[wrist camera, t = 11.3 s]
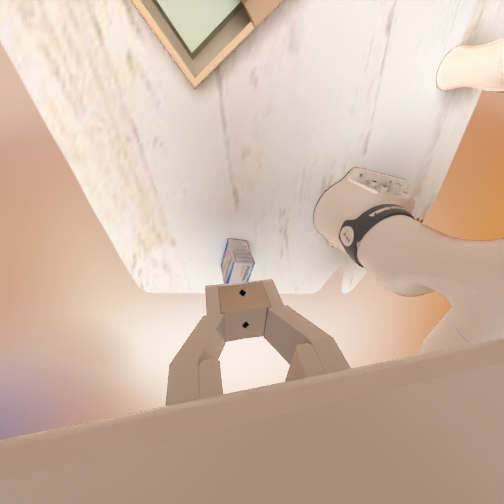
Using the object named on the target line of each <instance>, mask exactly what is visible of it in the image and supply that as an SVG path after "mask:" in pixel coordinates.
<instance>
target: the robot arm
mask: <svg viewBox="0 0 504 504" xmlns="http://www.w3.org/2000/svg"><path fill="white" fill-rule="evenodd" d="M360 174H361V175H360ZM359 175H360V176H359ZM413 208H414V199H413V197H412V196H410V195H408V182H407V181H405V180H403V179H400V178H396V177H392V176H388V175H384V174H381V173H377V172H373V171H369V170H365V169H362V168H358V167H356V168H353V169H352V170H351V171H350V172H349V173H348V174H347V175H346V176H345V177H344V179H342V180H341V181H340V182H338V183H336V184H335V185H333V186H332V187H331V188H329V189H328V190H327V191H326V192H325V193H324V194H323V196H322V197H321V198H320V200H319V202H318V204H317V206H316V208H315V212H314V225H315V228H316V229H317V231H318V232H319V233H320V234H321V235H323V236H324V237H325V238H326V240H327V242H328V244H329V245H330V246H332V247H337V248H338V249H339V250H341V251H342V252H343V253H344V254H346V255H347V256H348V257H351V258H352V260H353V261H354V262H355V263H357V264H358V265H359V266H361V267H364V268H365V269H366V270H367V271H368V272H369V273H370V274H371V275H372V276H373V277H374V278H375V279H376V280H377V281H378V282H379V283H380V284H381V285H382V286H383V287H384V288H385V289H387V290H388V291H390V292H392V293H394V294H397V295H401V296H407V297H413V296H420V295H424V294H427V293H430V292H433V291H437V292H438V293H440V294H441V295H443V296H444V297H445V298H447V299H448V301H449V302H450V303H451V307H450V309H449V310H448V312H447V313H446V314H445V315H444V316H443V317H442V319H441V320H440V321H439V322H438V323H437V324H436V326H435V327H434V328H433V329H432V330H431V331H430V333H429V334H428V335H427V336H426V337H425V339H424V341H423V343H422V345H421V348H420V350H419V352H418V355H416V356H411V357H406V358H401V359H396V360H392V361H386V362H382V363H376V364H372V365H367V366H362V367H357V368H352V369H351V368H350V366H349V364H348V363H347V361H346V359H345V358H344V356H343V354H342V352H341V351H340V349H339V347H338V346H337V344H336V342H335V340H334V339H333V337H331V336H330V335H328V334H327V333H326V332H324V331H323V330H321V329H320V328H318V327H317V326H316V325H314V324H313V323H311V322H310V321H309V320H307V319H306V318H304V317H303V316H301V315H300V314H299V313H297V312H296V311H294V310H293V309H291V308H290V307H289V306H287V305H286V306H284V305H283V302H282V300H281V298H280V296H279V293H278V291H277V289H276V286H275V284H274V282H273V280H272V279H269V280H261V281H252V282H242V283H232V284H218V285H208V286H206V287H205V291H206V307H207V315H206V316H203V317H202V319H201V320H200V321H199V323H198V324H197V326H196V327H195V329H194V330H193V332H192V333H191V334H190V336H189V337H188V339H187V340H186V342H185V343H184V345H183V346H182V348H181V349H180V350H179V352H178V353H177V355H176V356H175V358H174V359H173V361H172V362H171V363H170V366H169V376H168V386H167V396H166V406H164V407H159V408H154V409H150V410H144V411H139V412H135V413H130V414H125V415H120V416H115V417H110V418H105V419H100V420H95V421H90V422H85V423H80V424H75V425H70V426H66V427H60V428H55V429H51V430H46V431H41V432H36V433H31V434H26V435H21V436H16V437H11V438H6V439H1V440H0V504H504V238H502V239H495V240H478V241H477V240H465V239H459V238H455V237H451V236H448V235H446V234H443V233H441V232H438V231H436V230H434V229H432V228H430V227H428V226H426V225H424V224H422V222H423V220H421V222H419V219H420V218H417V220H415V219H414V217H413V216H412V215H411V214H412V212H413ZM259 336H264V338H265V339H266V340H267V341H268V342H269V343H270V344H271V345H272V346H273V347H274V348H275V349H276V350H277V351H278V352H279V354H280V355H281V356H282V357H283V358H284V359H285V360H286V361H287V362H288V363H289V364H290V368H289V371H288V374H287V378H286V381H285V382H283V383H277V384H272V385H267V386H263V387H258V388H253V389H248V390H243V391H238V392H233V393H228V394H223V390H222V380H221V371H220V362H219V361H218V358H219V356H220V354H221V352H222V349H223V347H224V345H225V342H227V341H232V340H238V339H243V338H251V337H259Z"/></svg>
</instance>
